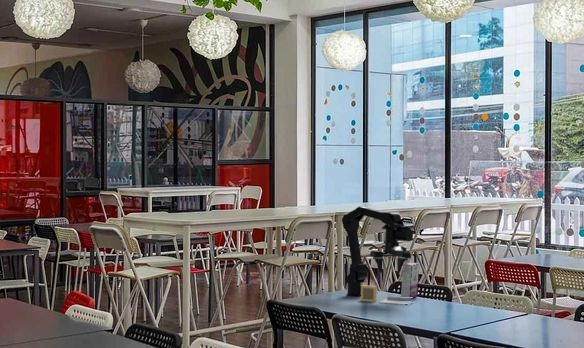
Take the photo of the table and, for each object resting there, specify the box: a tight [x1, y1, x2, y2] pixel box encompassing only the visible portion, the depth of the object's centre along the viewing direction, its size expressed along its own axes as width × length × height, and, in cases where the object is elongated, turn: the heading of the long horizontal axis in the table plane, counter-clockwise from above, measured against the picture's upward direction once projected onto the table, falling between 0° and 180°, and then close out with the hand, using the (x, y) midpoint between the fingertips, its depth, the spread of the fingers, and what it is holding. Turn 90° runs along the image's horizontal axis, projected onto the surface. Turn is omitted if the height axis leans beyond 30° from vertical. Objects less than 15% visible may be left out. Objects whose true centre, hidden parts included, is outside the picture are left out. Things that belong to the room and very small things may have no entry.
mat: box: [379, 296, 412, 306], centre depth 399 cm, size 14×14×2 cm
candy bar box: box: [400, 262, 420, 298], centre depth 418 cm, size 11×5×16 cm, turn 154°
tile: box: [360, 284, 378, 303], centre depth 401 cm, size 7×2×7 cm, turn 71°
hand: (389, 272), depth 406 cm, fingers open, 9 cm apart
